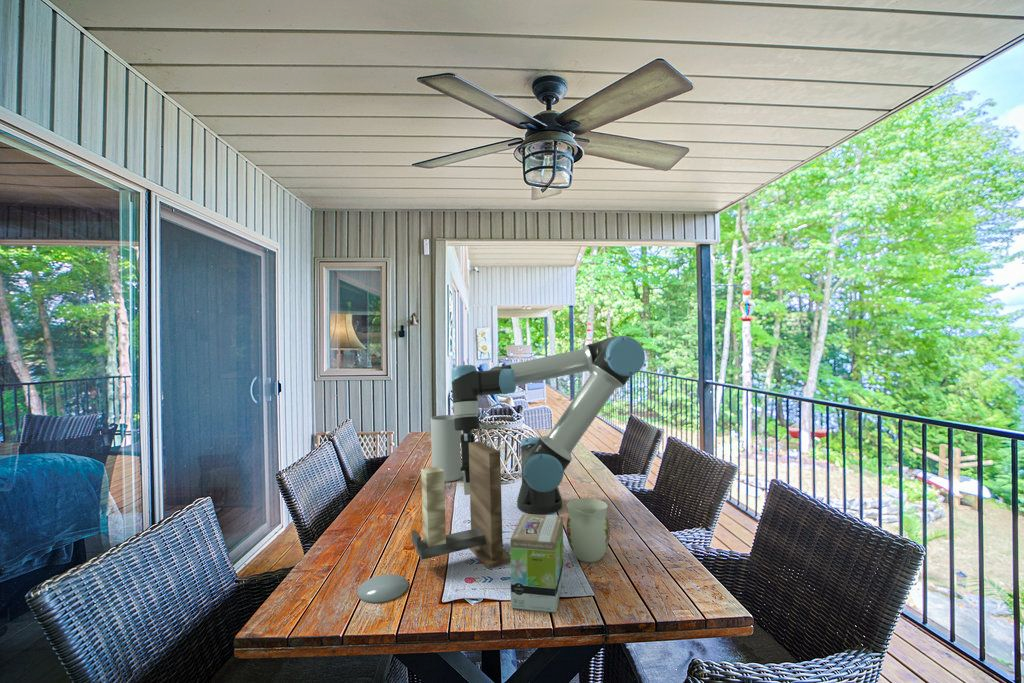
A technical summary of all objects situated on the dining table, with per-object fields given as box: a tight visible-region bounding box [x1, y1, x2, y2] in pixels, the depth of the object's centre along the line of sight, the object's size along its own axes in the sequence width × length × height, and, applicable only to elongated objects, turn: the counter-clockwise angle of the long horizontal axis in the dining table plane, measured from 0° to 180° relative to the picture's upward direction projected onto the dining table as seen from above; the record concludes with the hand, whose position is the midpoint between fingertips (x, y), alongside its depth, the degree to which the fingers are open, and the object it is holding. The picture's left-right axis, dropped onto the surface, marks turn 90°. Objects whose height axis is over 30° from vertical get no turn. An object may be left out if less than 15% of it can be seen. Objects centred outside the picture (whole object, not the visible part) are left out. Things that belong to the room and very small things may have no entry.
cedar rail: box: [420, 467, 447, 547], centre depth 115 cm, size 4×4×18 cm
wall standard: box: [411, 441, 511, 570], centre depth 118 cm, size 23×16×28 cm
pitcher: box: [565, 497, 611, 563], centre depth 119 cm, size 11×18×14 cm, turn 174°
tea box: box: [510, 513, 564, 613], centre depth 102 cm, size 15×10×15 cm, turn 168°
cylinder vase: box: [430, 414, 463, 483], centre depth 190 cm, size 12×12×25 cm
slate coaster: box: [357, 573, 409, 604], centre depth 105 cm, size 11×11×1 cm
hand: (471, 491), depth 135 cm, fingers open, 11 cm apart
